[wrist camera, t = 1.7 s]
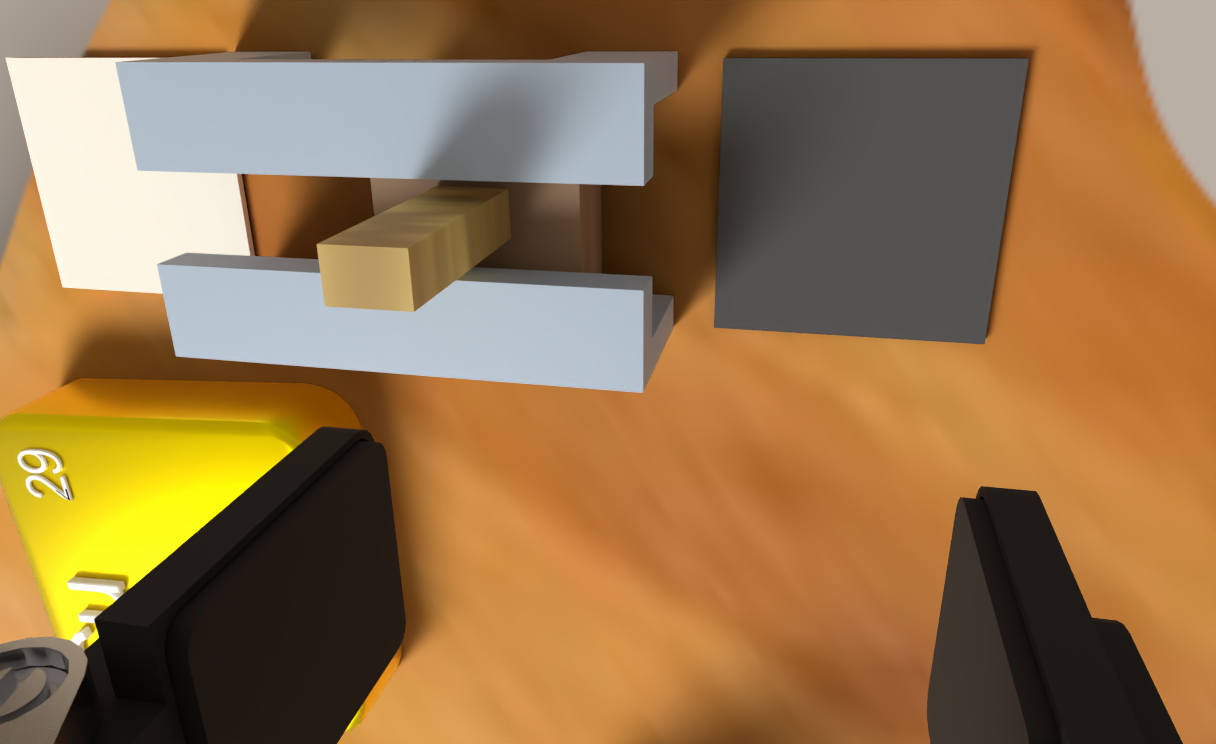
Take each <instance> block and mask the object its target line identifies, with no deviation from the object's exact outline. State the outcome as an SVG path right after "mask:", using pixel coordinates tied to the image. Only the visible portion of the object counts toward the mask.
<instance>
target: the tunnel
mask: <svg viewBox="0 0 1216 744" xmlns="http://www.w3.org/2000/svg"><path fill="white" fill-rule="evenodd" d="M115 63H116V68H117V73H118V78H119V83H120V88H121V93H122V97H123V102H124V107H125V112H126V117H127V122H128V127H129V131H130V136H131V141H132V146H133V151H134V156H135V161H136V165H137V170H138V171H165V172H198V173H231V174H264V175H298V176H331V177H364V178H397V179H430V180H463V181H497V182H530V183H563V184H596V185H629V186H644V185H645V184H646V183H647V182H648V181H649V180H650V179H651V178H652V177H653V139H654V104H656V103H657V102H659V101H661V100H662V99H664V98H666V97H667V96H669V95H670V94H672V93H674V92H675V91H677V81H678V51H587V52H582V53H578V54H573V55H568V56H564V57H559V58H555V59H550V60H481V59H311V53H310V52H224V53H213V54H202V55H190V56H179V57H168V58H156V59H145V60H134V61H122V62H115ZM157 267H158V272H159V277H160V282H161V287H162V292H163V296H164V301H165V306H166V311H167V316H168V321H169V326H170V330H171V335H172V340H173V345H174V350H175V355H176V357H189V358H202V359H215V360H228V361H241V362H254V363H266V364H279V365H292V366H305V367H318V368H331V369H344V370H357V371H369V372H382V373H395V374H408V375H421V376H434V377H447V378H459V379H472V380H485V381H498V382H511V383H524V384H537V385H549V386H562V387H575V388H588V389H601V390H614V391H627V392H639V393H643V392H644V390H645V388H646V385H647V383H648V381H649V379H650V377H651V375H652V372H653V370H654V368H655V366H656V364H657V362H658V360H659V357H660V355H661V353H662V351H663V349H664V347H665V344H666V342H667V340H668V338H669V336H670V334H671V331H672V329H673V317H674V296H671V295H653V294H652V276H637V275H618V274H598V273H578V272H559V271H539V270H519V269H500V268H480V267H473V268H471V269H470V270H469V271H467V272H466V273H465V274H464V275H462V276H461V277H460V278H458V279H457V280H456V281H454V282H453V283H452V284H450V285H449V286H448V287H446V288H445V289H444V290H442V291H441V292H440V293H439V294H437V295H436V296H435V297H433V298H432V299H431V300H429V301H428V302H427V303H425V304H424V305H423V306H421V307H420V308H419V309H418V310H416V311H415V312H405V311H389V310H373V309H357V308H341V307H325V303H324V296H323V288H322V281H321V274H320V266H319V259H303V258H283V257H263V256H244V255H224V254H204V253H184V254H182V255H179V256H177V257H174V258H171V259H169V260H166V261H164V262H161V263H159V264H157Z"/></svg>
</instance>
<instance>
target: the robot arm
mask: <svg viewBox="0 0 1216 744" xmlns="http://www.w3.org/2000/svg"><path fill="white" fill-rule="evenodd" d="M94 622H95V625H96V629H97V632H98V636H99V638H98V639H97V640H96V641H94V642H93V643H92V644H91V645H90V646H89V647H88V648H86V649H85V650H83V648H82V647H80V646H78V645H77V644H75V643H74V642H72V641H70V640H66V639H61V638H55V637H38V638H26V639H21V640H16V641H12V642H7V643H3V644H0V744H337V743H338V741H339V740H340V738H341V737H342V735H343V733H344V732H345V730H346V729H347V727H348V726H349V724H350V723H351V721H352V720H353V718H354V717H355V715H356V714H357V712H358V711H359V709H360V708H361V706H362V704H363V703H364V701H365V700H366V698H367V697H368V695H369V694H370V692H371V691H372V689H373V688H374V686H375V685H376V683H377V682H378V680H379V678H380V677H381V675H382V674H383V672H384V671H385V669H386V668H387V666H388V665H389V663H390V662H391V660H392V659H393V657H394V656H395V654H396V653H397V651H398V649H399V647H400V645H401V643H402V640H403V637H404V632H405V624H406V621H405V609H404V601H403V593H402V584H401V576H400V567H399V559H398V550H397V542H396V533H395V525H394V516H393V508H392V499H391V491H390V482H389V474H388V465H387V457H386V452H385V449H384V447H383V445H382V444H381V443H377V442H374V440H373V438H372V436H371V434H370V433H369V432H368V431H367V430H358V429H347V428H337V427H324V426H323V427H321V428H319V429H317V430H316V431H315V432H314V433H312V434H311V435H310V436H309V437H308V438H307V439H305V440H304V441H303V442H302V443H301V444H299V445H298V446H297V447H296V448H295V449H294V450H292V451H291V452H290V453H289V454H288V455H286V456H285V457H284V458H283V459H282V460H281V461H279V462H278V463H277V464H276V465H275V466H274V467H272V468H271V469H270V470H269V471H268V472H266V473H265V474H264V475H263V476H262V477H261V478H259V479H258V480H257V481H256V482H255V483H253V484H252V485H251V486H250V487H249V488H248V489H246V490H245V491H244V492H243V493H242V494H241V495H239V496H238V497H237V498H236V499H235V500H233V501H232V502H231V503H230V504H229V505H228V506H226V507H225V508H224V509H223V510H222V511H221V512H219V513H218V514H217V515H216V516H215V517H213V518H212V519H211V520H210V521H209V522H208V523H206V524H205V525H204V526H203V527H202V528H200V529H199V530H198V531H197V532H196V533H195V534H193V535H192V536H191V537H190V538H189V539H188V540H186V541H185V542H184V543H183V544H182V545H180V546H179V547H178V548H177V549H176V550H175V551H173V552H172V553H171V554H170V555H169V556H168V557H166V558H165V559H164V560H163V561H162V562H160V563H159V564H158V565H157V566H156V567H155V568H153V569H152V570H151V571H150V572H149V573H147V574H146V575H145V576H144V577H143V578H142V579H140V580H139V581H138V582H137V583H136V584H135V585H133V586H132V587H131V588H130V589H129V590H127V591H126V592H125V593H124V594H123V595H122V596H120V597H119V598H118V599H117V600H116V601H115V602H113V603H112V604H111V605H110V606H109V607H107V608H106V609H105V610H104V611H103V612H102V613H100V614H99V615H98V616H97V617H96V618H94ZM927 720H928V729H929V736H930V743H931V744H1183V743H1182V741H1181V739H1180V737H1179V735H1178V733H1177V731H1176V728H1175V726H1174V724H1173V722H1172V720H1171V718H1170V716H1169V714H1168V712H1167V710H1166V708H1165V706H1164V703H1163V701H1162V699H1161V697H1160V695H1159V693H1158V691H1157V689H1156V687H1155V685H1154V683H1153V681H1152V679H1151V676H1150V674H1149V672H1148V670H1147V668H1146V666H1145V664H1144V662H1143V660H1142V658H1141V656H1140V654H1139V652H1138V649H1137V647H1136V645H1135V643H1134V641H1133V639H1132V637H1131V635H1130V633H1129V632H1128V630H1127V629H1126V627H1125V626H1124V624H1122V623H1120V622H1118V621H1116V620H1107V619H1099V618H1092V617H1091V615H1090V612H1089V610H1088V608H1087V605H1086V603H1085V601H1084V598H1083V596H1082V594H1081V591H1080V589H1079V587H1078V584H1077V582H1076V580H1075V577H1074V575H1073V573H1072V571H1071V568H1070V566H1069V564H1068V561H1067V559H1066V557H1065V554H1064V552H1063V550H1062V547H1061V545H1060V543H1059V540H1058V538H1057V536H1056V533H1055V531H1054V529H1053V527H1052V524H1051V522H1050V520H1049V517H1048V515H1047V513H1046V510H1045V508H1044V506H1043V503H1042V501H1041V499H1040V496H1039V495H1038V493H1037V492H1036V491H1027V490H1016V489H1005V488H994V487H983V486H981V487H980V489H979V490H978V493H977V496H976V499H972V498H962V497H960V499H959V501H958V504H957V508H956V514H955V520H954V527H953V533H952V540H951V546H950V553H949V559H948V566H947V572H946V579H945V585H944V592H943V598H942V605H941V611H940V618H939V624H938V631H937V637H936V644H935V650H934V657H933V663H932V670H931V676H930V683H929V689H928V701H927Z"/></svg>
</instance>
